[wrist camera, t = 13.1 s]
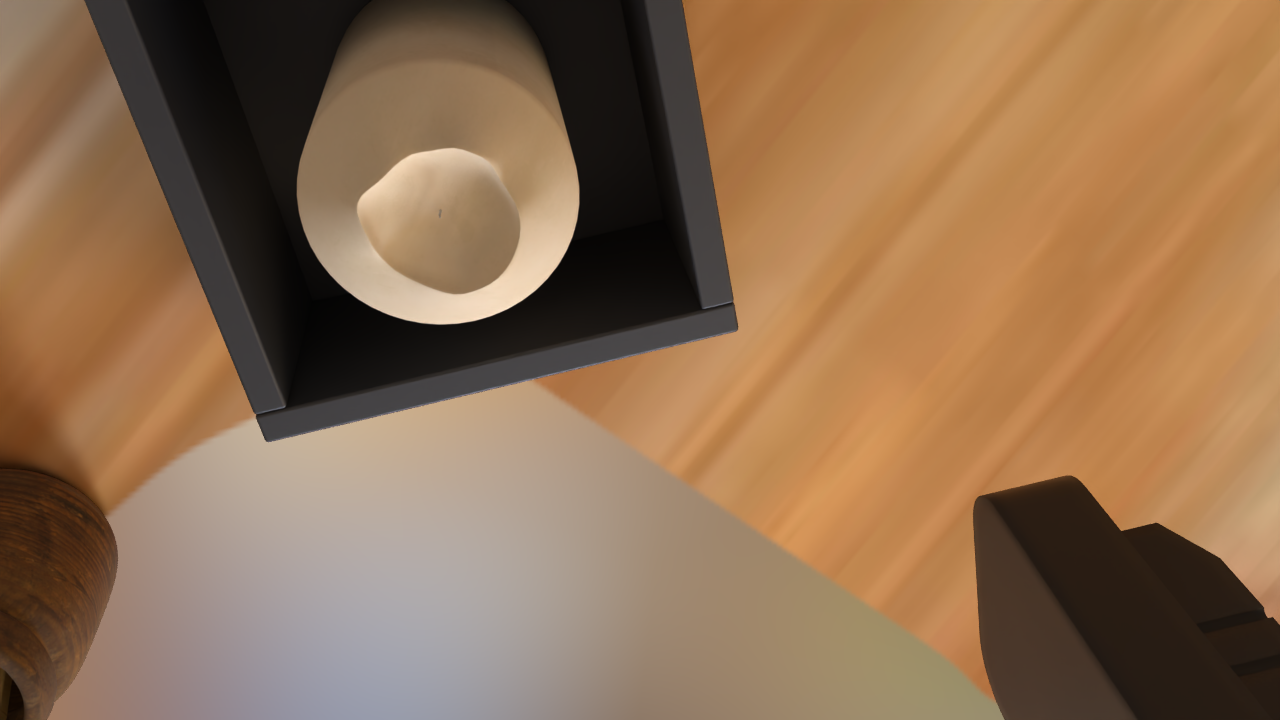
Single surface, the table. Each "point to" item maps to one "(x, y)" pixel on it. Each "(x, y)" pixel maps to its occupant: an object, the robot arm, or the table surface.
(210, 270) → the bin
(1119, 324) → the table surface
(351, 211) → the candle
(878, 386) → the table surface
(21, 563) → the utensil holder
